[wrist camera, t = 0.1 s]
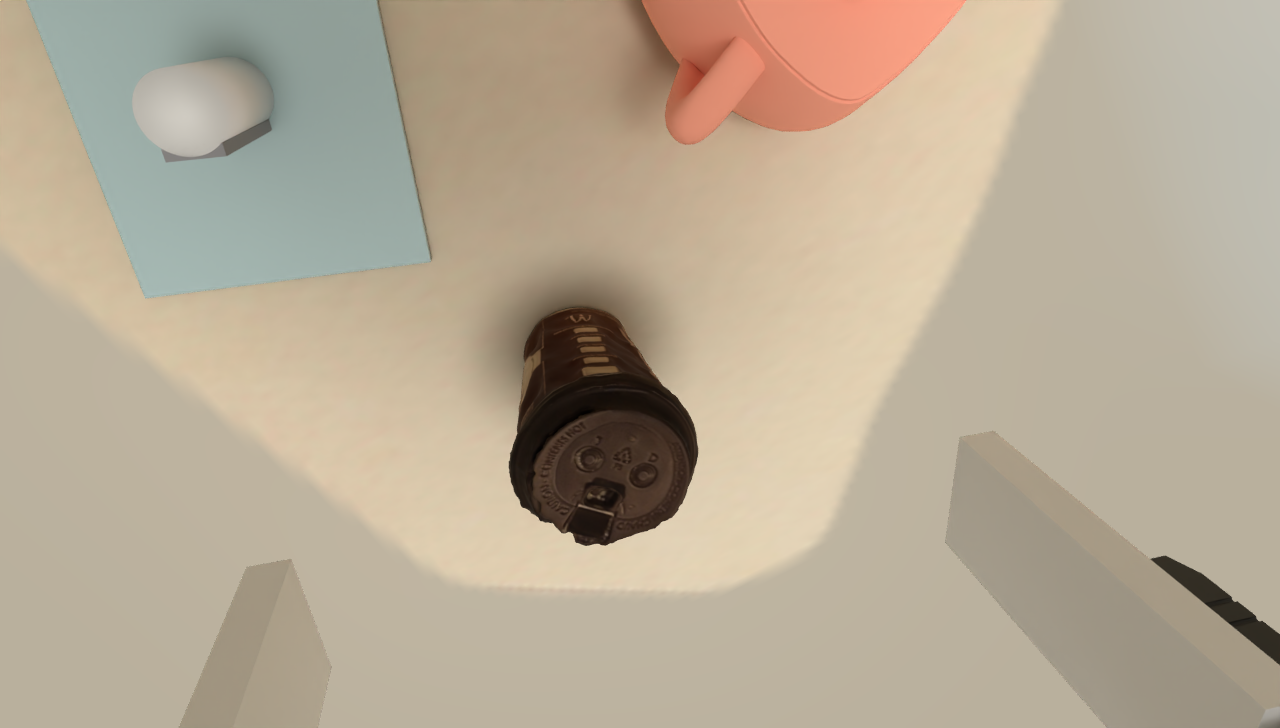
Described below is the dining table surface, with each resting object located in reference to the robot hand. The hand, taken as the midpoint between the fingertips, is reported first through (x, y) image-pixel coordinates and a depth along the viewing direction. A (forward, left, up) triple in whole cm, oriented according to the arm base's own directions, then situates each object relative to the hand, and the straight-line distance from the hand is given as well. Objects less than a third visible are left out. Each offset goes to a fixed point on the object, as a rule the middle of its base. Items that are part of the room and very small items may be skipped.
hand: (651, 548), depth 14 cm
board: (-7, -13, -28) cm, 32 cm away
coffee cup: (+9, +1, -28) cm, 29 cm away
